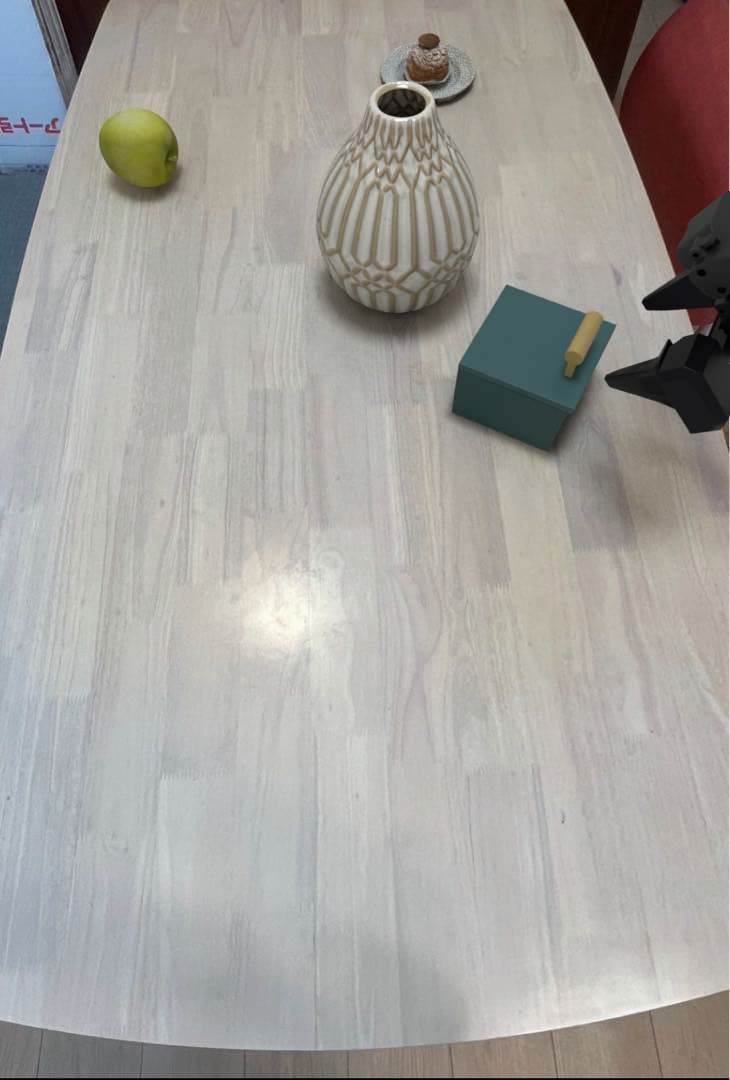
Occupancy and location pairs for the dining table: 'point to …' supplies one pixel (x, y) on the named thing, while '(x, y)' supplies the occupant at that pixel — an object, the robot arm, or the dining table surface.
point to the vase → (398, 205)
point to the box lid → (538, 348)
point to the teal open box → (506, 411)
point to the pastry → (430, 67)
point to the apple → (139, 147)
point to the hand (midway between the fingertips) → (626, 341)
